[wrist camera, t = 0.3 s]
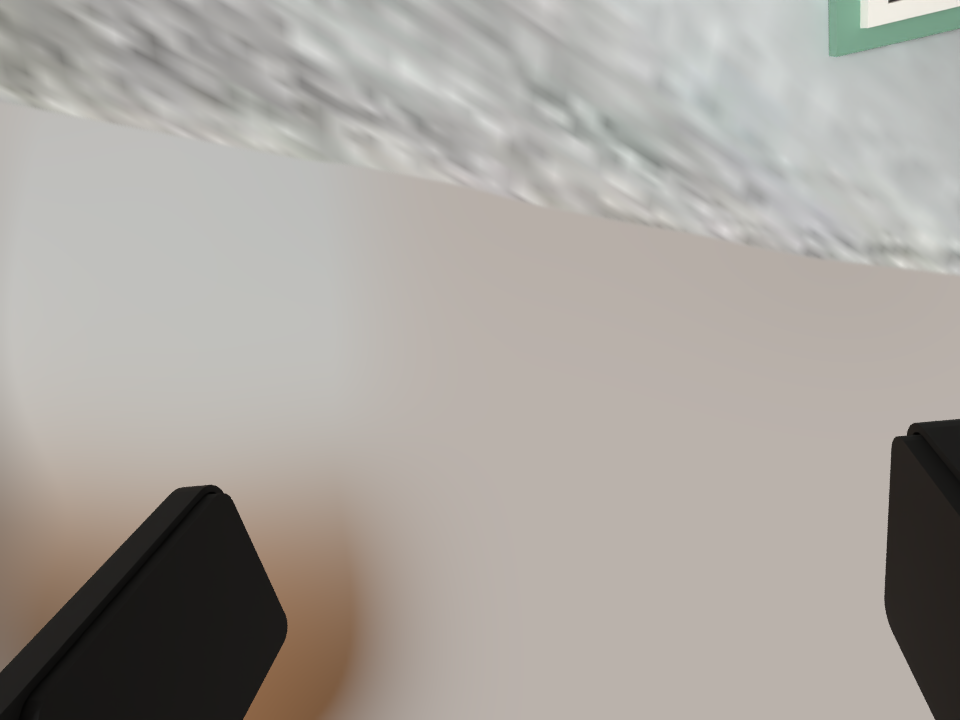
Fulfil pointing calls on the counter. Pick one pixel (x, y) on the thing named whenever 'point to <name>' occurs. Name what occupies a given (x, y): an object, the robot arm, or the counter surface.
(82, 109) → the counter surface
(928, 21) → the board
